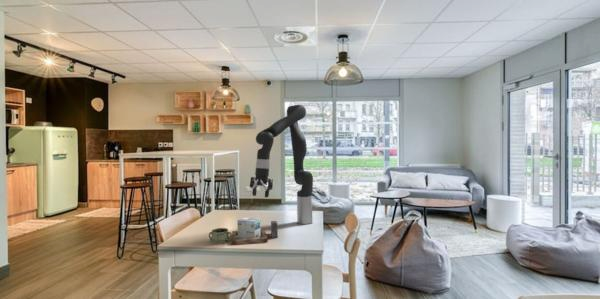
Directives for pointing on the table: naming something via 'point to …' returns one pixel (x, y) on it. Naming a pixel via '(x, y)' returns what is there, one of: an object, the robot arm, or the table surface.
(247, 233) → the light bulb box
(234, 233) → the pull frame
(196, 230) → the table surface
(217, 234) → the vessel
